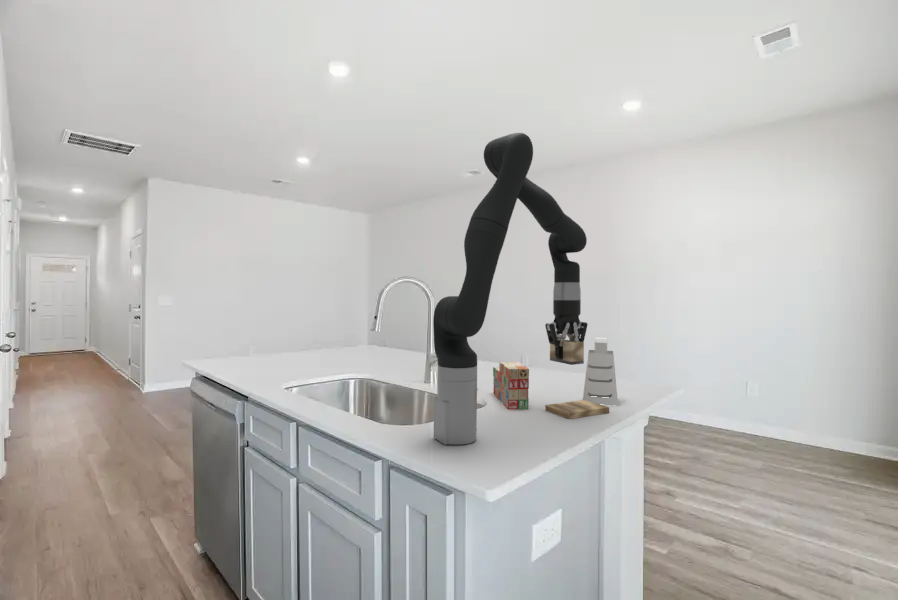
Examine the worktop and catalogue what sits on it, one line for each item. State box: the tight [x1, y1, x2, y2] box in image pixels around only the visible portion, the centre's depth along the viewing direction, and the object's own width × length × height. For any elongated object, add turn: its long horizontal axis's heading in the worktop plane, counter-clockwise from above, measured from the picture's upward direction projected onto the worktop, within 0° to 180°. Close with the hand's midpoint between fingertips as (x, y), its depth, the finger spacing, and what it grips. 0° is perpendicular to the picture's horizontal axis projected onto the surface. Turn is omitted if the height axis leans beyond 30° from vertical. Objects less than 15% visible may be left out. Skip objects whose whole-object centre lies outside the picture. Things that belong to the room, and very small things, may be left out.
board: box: [544, 399, 610, 420], centre depth 133 cm, size 15×10×2 cm, turn 117°
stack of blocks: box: [492, 361, 530, 410], centre depth 146 cm, size 21×6×12 cm, turn 6°
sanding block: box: [549, 338, 585, 366], centre depth 132 cm, size 4×9×6 cm, turn 27°
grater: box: [582, 336, 619, 407], centre depth 147 cm, size 10×10×20 cm
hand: (566, 358), depth 132 cm, fingers closed on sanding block, 4 cm apart
